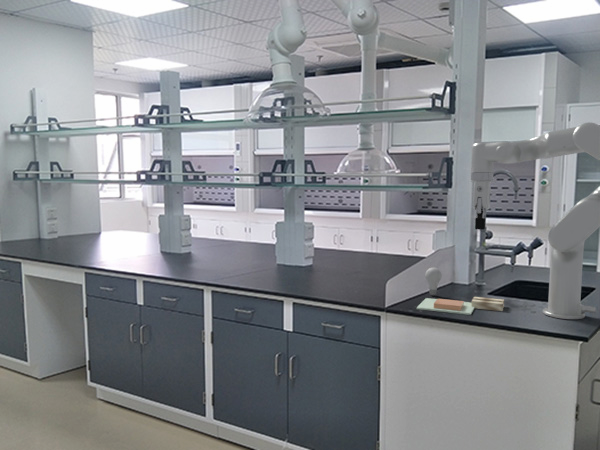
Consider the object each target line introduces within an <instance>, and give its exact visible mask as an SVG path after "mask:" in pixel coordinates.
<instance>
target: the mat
mask: <svg viewBox="0 0 600 450" xmlns="http://www.w3.org/2000/svg"><path fill="white" fill-rule="evenodd" d="M437 299H438V298H430V297H429V298H428V297H425V299H424V300H422V301H421V303H420V304H418V305H417V306H416V310H420V311H421V310H422V311H428V312H429V311H431V312H439V313H449V314H457V315H458V314H459V315H468V316H471V315H472V313H473V311H474V310H475V309H476V308H475V307H474V306H471V302H469V301H464V306H463V308H462V309H461V311H458V310H449V309H440V308H434V303H435V301H436V300H437Z"/></svg>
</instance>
